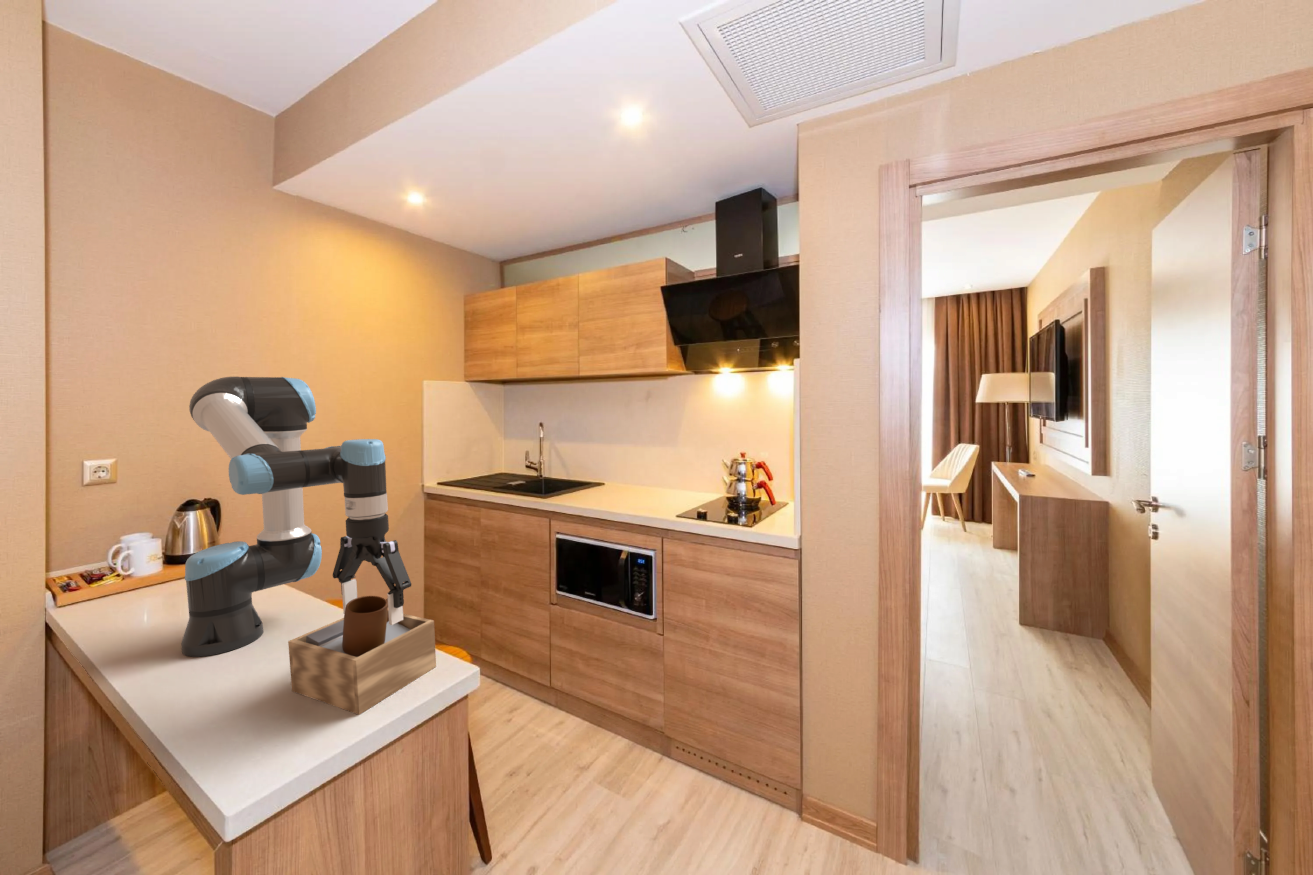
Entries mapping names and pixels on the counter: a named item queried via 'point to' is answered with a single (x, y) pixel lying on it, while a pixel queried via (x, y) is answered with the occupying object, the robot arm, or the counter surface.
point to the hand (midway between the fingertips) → (373, 616)
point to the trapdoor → (334, 635)
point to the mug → (364, 624)
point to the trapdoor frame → (362, 667)
